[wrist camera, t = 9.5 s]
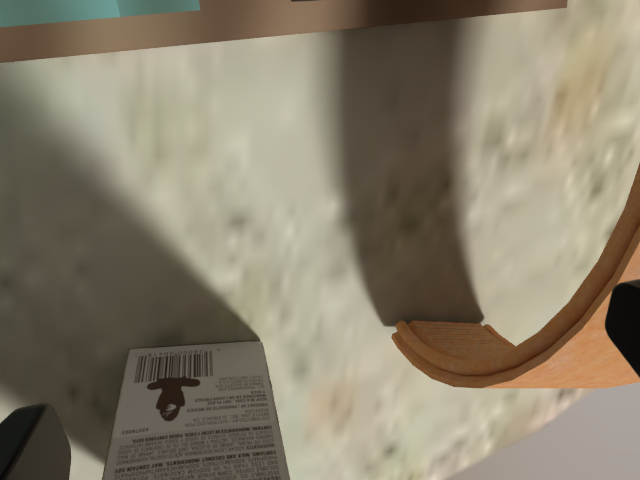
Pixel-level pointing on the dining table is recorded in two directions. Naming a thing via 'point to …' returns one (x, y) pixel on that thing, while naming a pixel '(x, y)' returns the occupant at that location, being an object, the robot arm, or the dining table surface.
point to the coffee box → (196, 416)
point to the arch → (550, 342)
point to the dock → (209, 21)
